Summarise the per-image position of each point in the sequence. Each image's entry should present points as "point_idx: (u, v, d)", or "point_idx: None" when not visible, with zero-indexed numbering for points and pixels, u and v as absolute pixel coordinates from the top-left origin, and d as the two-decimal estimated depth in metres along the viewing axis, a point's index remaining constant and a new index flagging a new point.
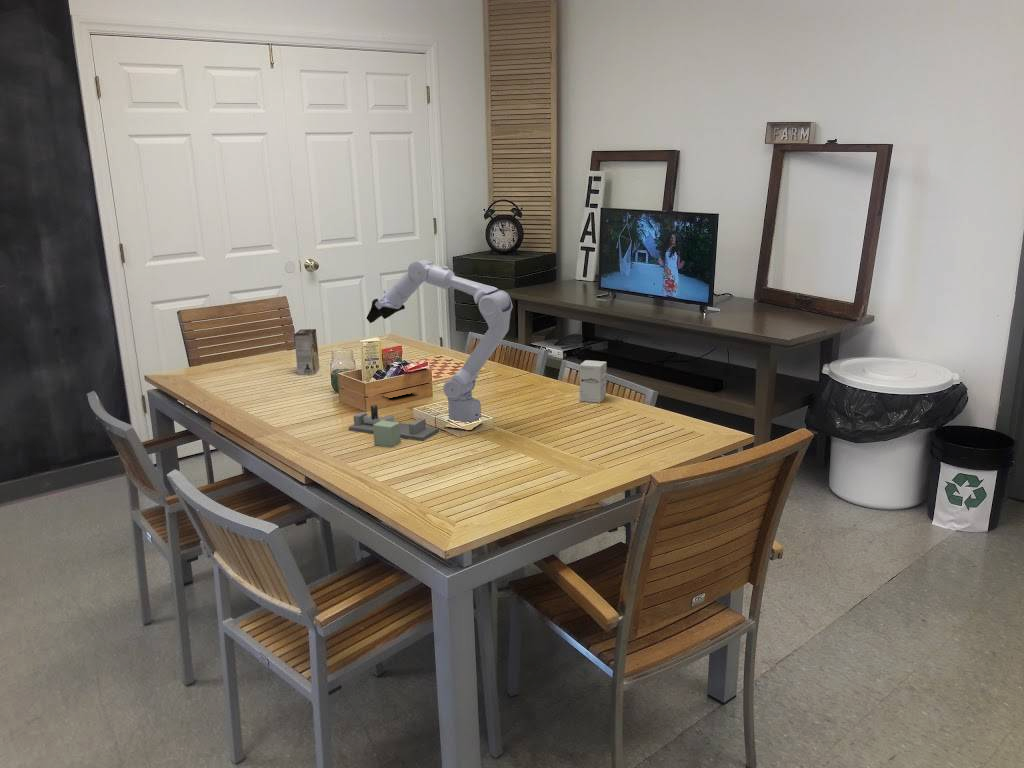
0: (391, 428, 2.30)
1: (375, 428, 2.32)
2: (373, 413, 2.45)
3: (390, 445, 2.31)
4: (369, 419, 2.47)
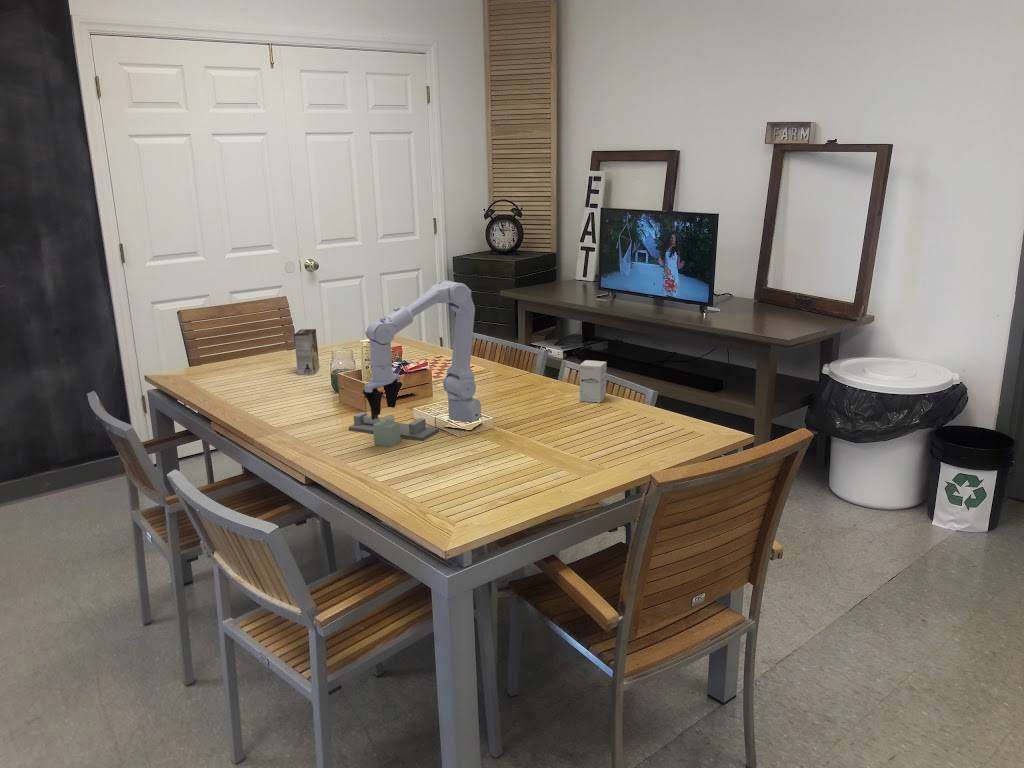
0: (391, 428, 2.30)
1: (375, 428, 2.32)
2: None
3: (390, 445, 2.31)
4: (369, 419, 2.47)
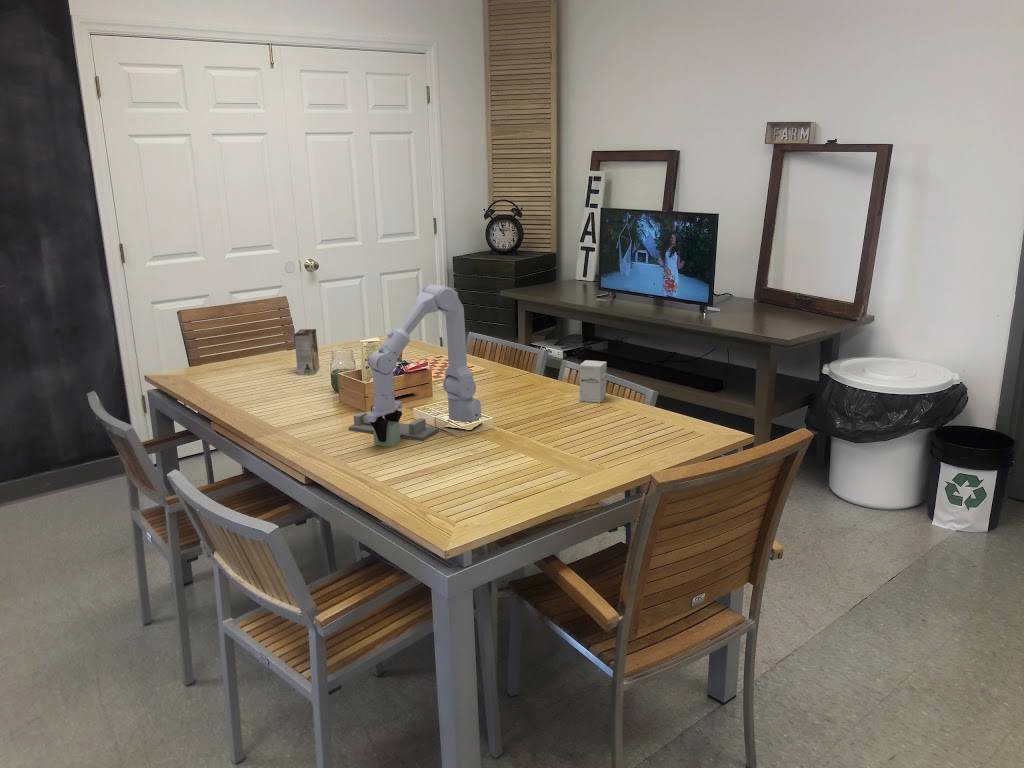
0: (391, 428, 2.30)
1: None
2: None
3: (390, 445, 2.31)
4: None
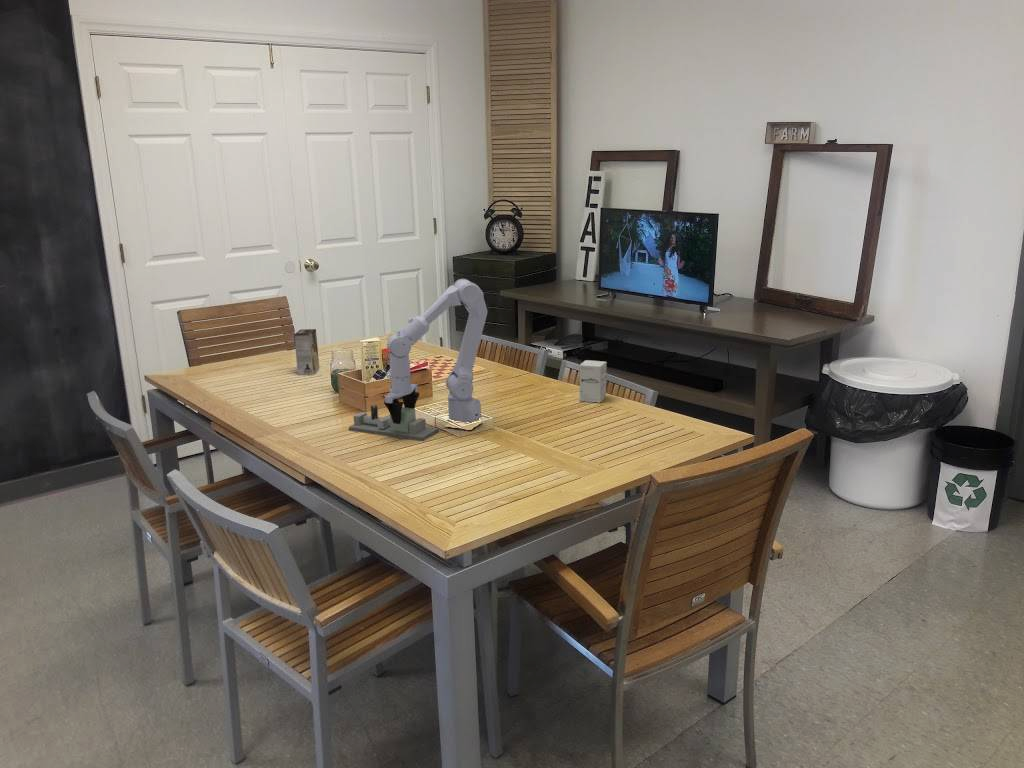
0: (407, 414, 2.39)
1: None
2: (373, 413, 2.45)
3: (406, 430, 2.40)
4: (369, 419, 2.47)
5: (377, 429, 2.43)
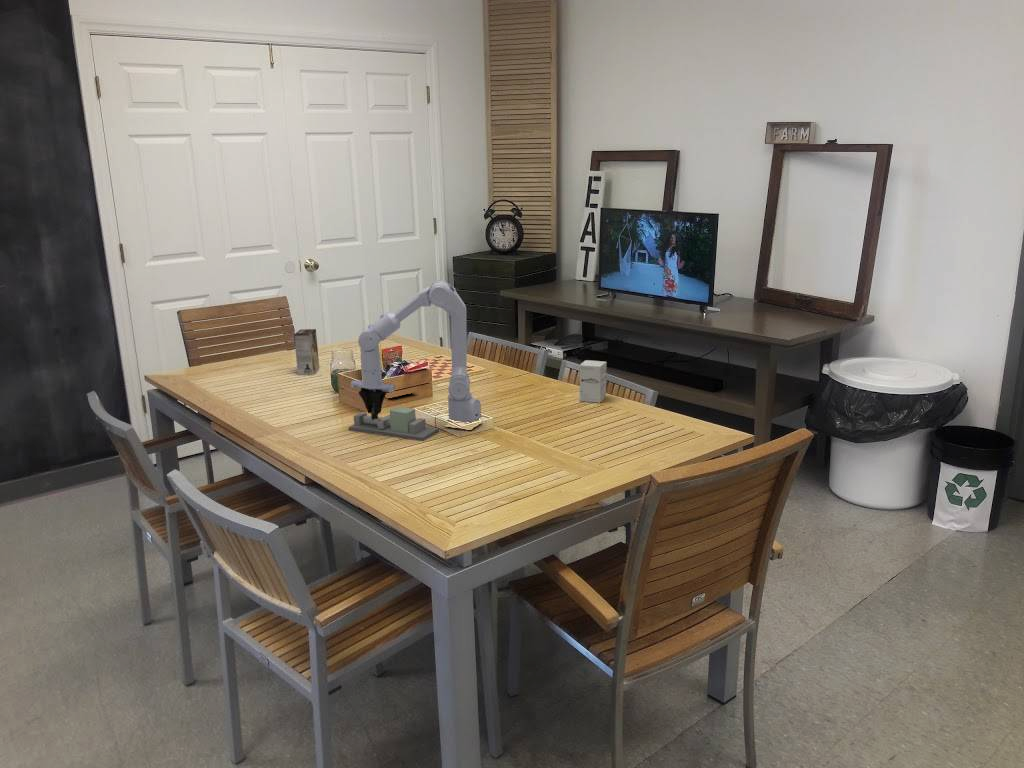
0: (407, 414, 2.39)
1: (392, 414, 2.41)
2: (373, 413, 2.45)
3: (406, 430, 2.40)
4: (369, 419, 2.47)
5: (377, 429, 2.43)
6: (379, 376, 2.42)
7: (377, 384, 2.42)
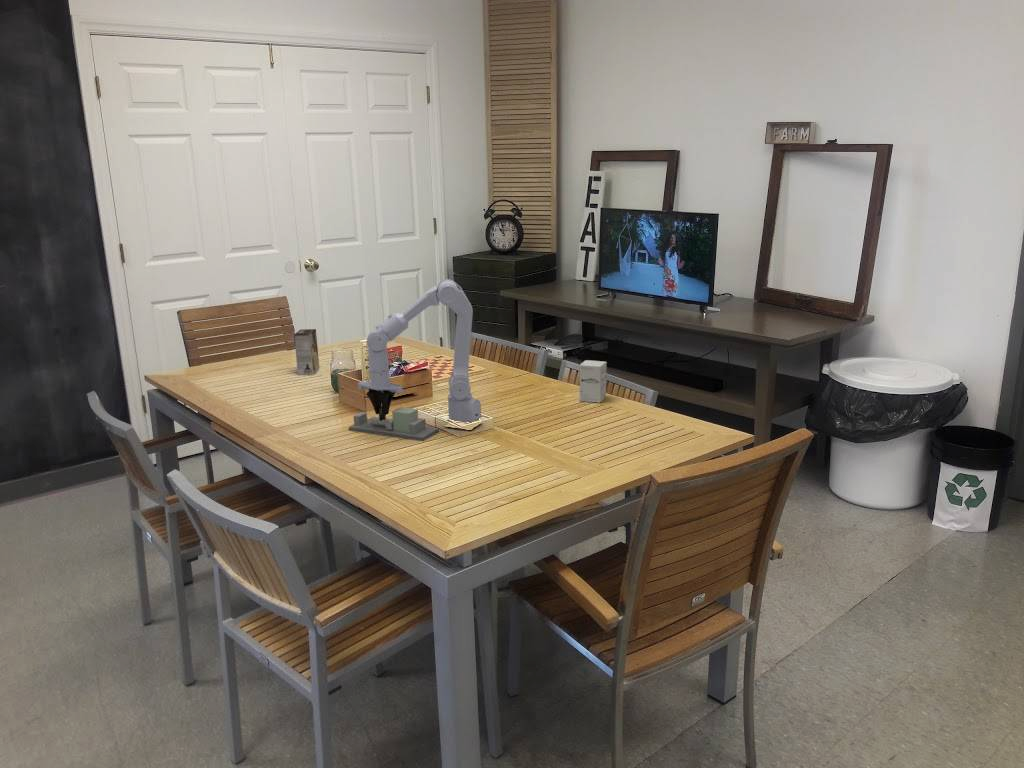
0: (410, 414, 2.38)
1: (394, 414, 2.40)
2: (381, 414, 2.44)
3: None
4: (377, 420, 2.45)
5: (377, 429, 2.43)
6: (387, 377, 2.41)
7: (385, 385, 2.41)
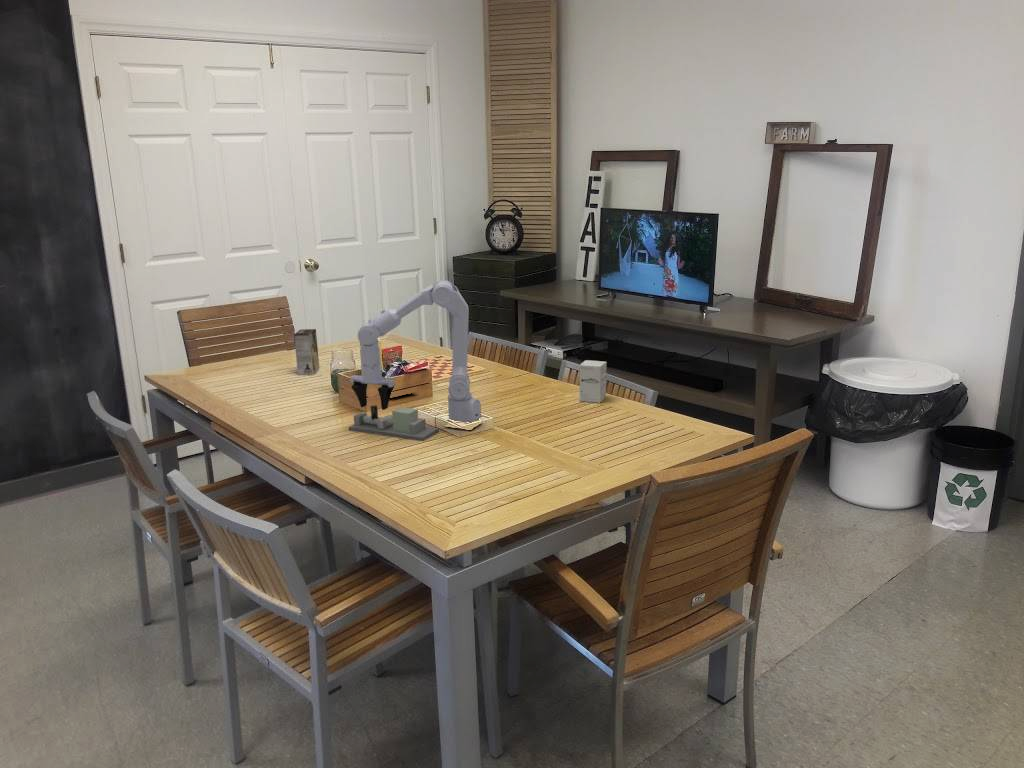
0: (410, 414, 2.38)
1: (394, 414, 2.40)
2: (373, 413, 2.45)
3: None
4: (369, 419, 2.47)
5: (377, 429, 2.43)
6: (379, 371, 2.41)
7: (377, 379, 2.41)
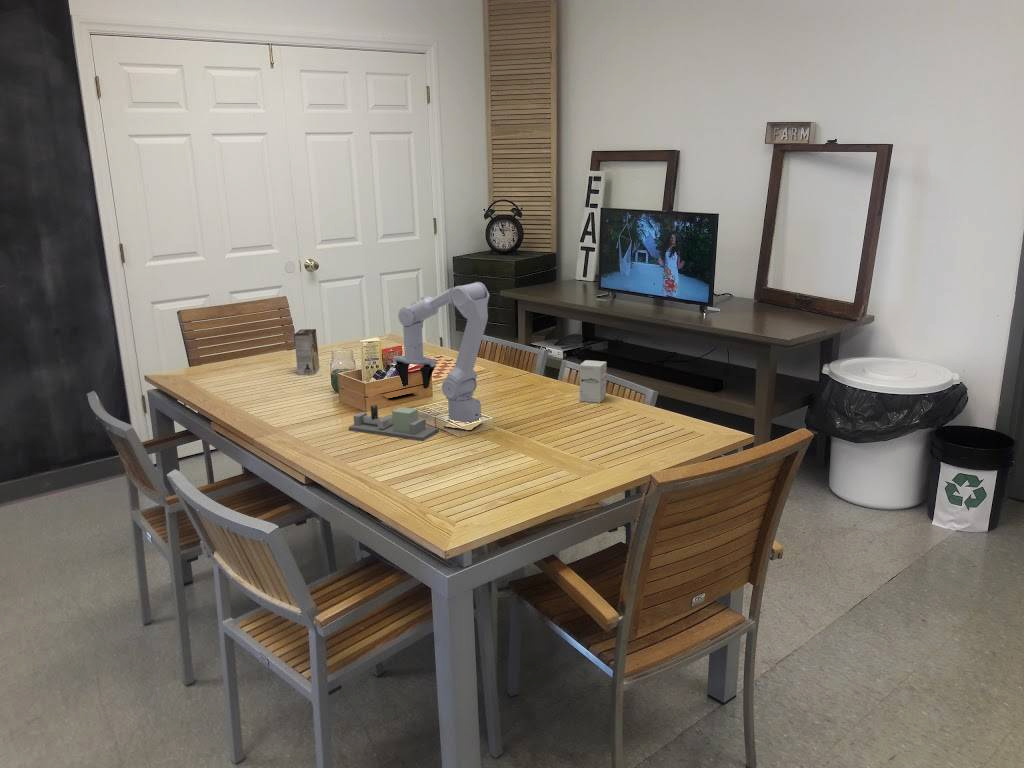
0: (410, 414, 2.38)
1: (394, 414, 2.40)
2: (373, 413, 2.45)
3: None
4: (369, 419, 2.47)
5: (377, 429, 2.43)
6: (421, 351, 2.52)
7: (419, 358, 2.52)
